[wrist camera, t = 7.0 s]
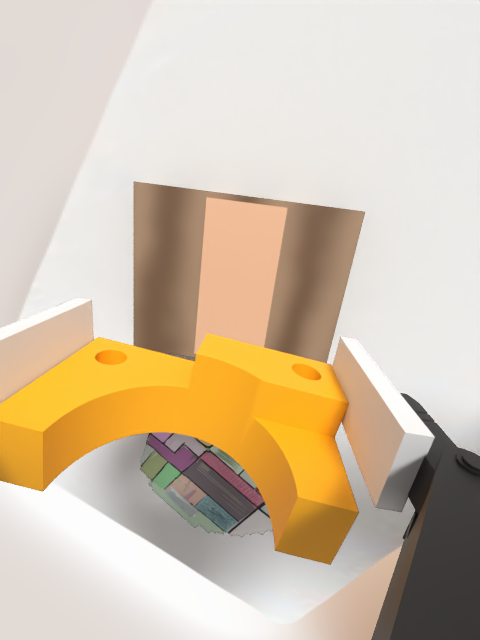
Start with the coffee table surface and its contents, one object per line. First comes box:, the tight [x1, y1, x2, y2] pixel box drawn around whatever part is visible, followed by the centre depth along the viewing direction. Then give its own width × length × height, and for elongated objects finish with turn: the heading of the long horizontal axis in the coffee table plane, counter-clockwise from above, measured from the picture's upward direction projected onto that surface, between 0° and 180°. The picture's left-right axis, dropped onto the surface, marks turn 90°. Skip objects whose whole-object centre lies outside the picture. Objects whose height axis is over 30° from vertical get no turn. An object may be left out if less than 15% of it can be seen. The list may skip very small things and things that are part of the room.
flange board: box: [134, 182, 365, 363], centre depth 28 cm, size 20×16×3 cm
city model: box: [140, 432, 273, 537], centre depth 35 cm, size 25×24×6 cm
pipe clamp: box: [0, 333, 359, 565], centre depth 12 cm, size 12×4×6 cm, turn 76°
